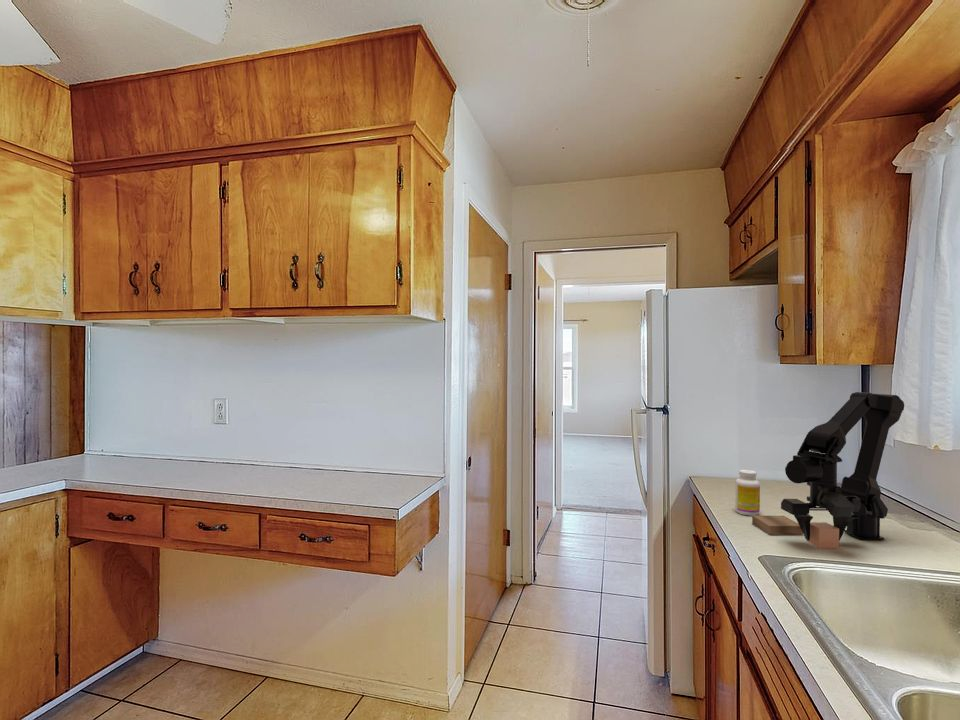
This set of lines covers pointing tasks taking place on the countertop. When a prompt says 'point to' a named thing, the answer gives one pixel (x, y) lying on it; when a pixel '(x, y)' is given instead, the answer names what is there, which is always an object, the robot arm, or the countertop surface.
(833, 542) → the cube
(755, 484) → the supplement bottle
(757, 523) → the brown block
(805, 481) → the robot arm
